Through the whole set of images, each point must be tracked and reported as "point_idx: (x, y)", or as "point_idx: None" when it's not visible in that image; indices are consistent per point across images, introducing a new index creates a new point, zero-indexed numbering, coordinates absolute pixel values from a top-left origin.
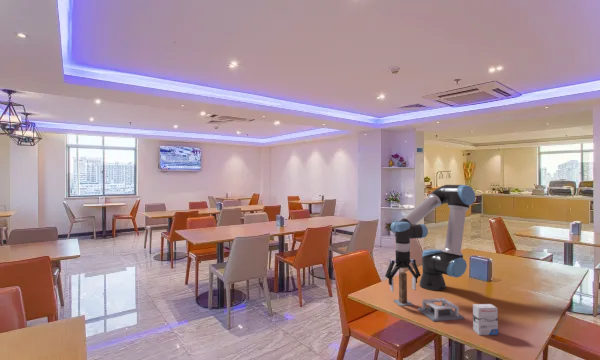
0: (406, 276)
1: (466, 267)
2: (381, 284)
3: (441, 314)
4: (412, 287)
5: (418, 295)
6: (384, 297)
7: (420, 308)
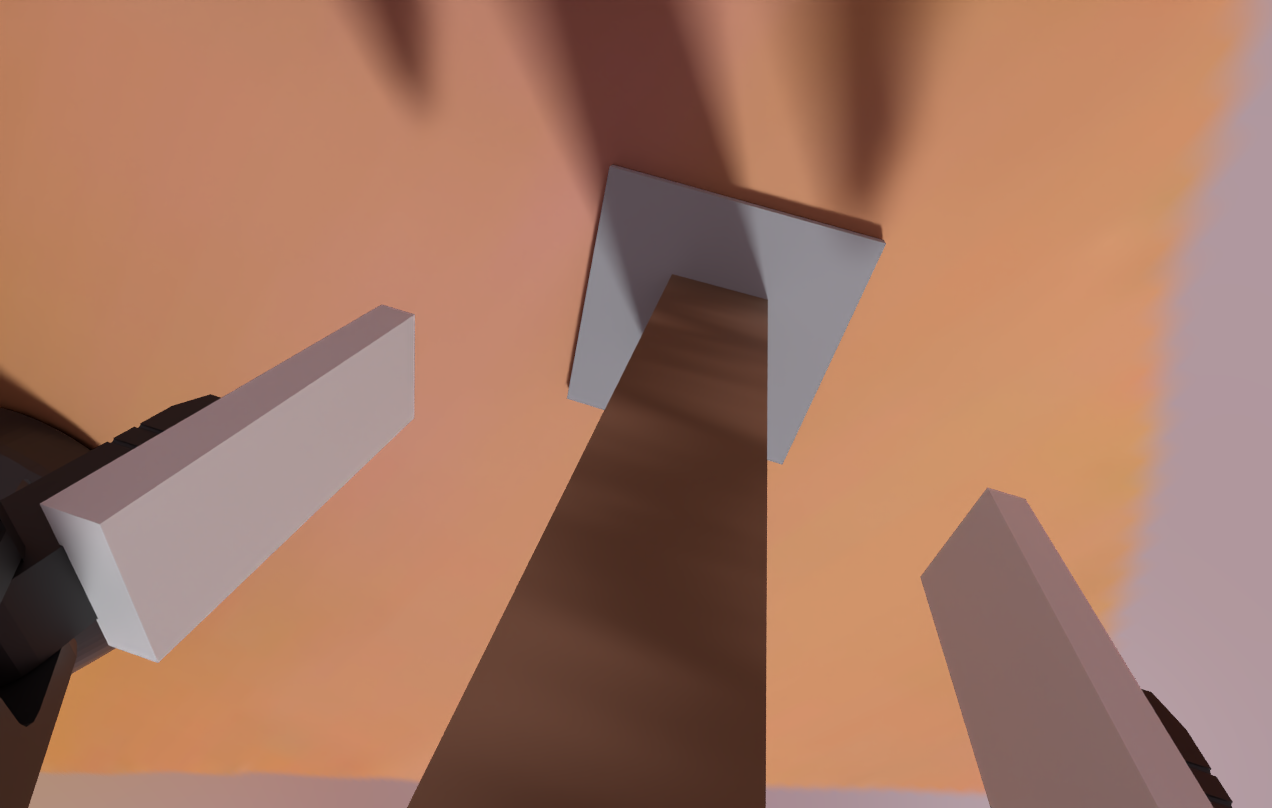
0: (448, 773)
1: None
2: None
3: None
4: (397, 417)
5: None
6: (790, 580)
7: None
